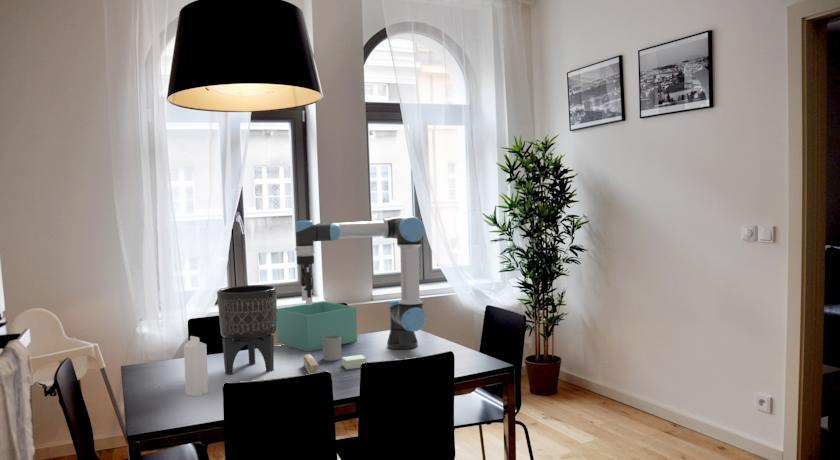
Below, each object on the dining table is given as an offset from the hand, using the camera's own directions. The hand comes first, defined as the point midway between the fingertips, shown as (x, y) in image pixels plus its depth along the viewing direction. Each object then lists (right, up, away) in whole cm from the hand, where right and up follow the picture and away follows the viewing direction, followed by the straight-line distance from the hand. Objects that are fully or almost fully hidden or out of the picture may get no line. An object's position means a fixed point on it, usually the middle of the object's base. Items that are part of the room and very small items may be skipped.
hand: (307, 302), depth 274 cm
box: (-3, -26, +46) cm, 53 cm away
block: (+22, -28, -4) cm, 35 cm away
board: (+4, -28, -11) cm, 30 cm away
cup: (+10, -27, +10) cm, 31 cm away
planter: (-24, -29, -5) cm, 38 cm away
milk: (-35, -31, -38) cm, 60 cm away
